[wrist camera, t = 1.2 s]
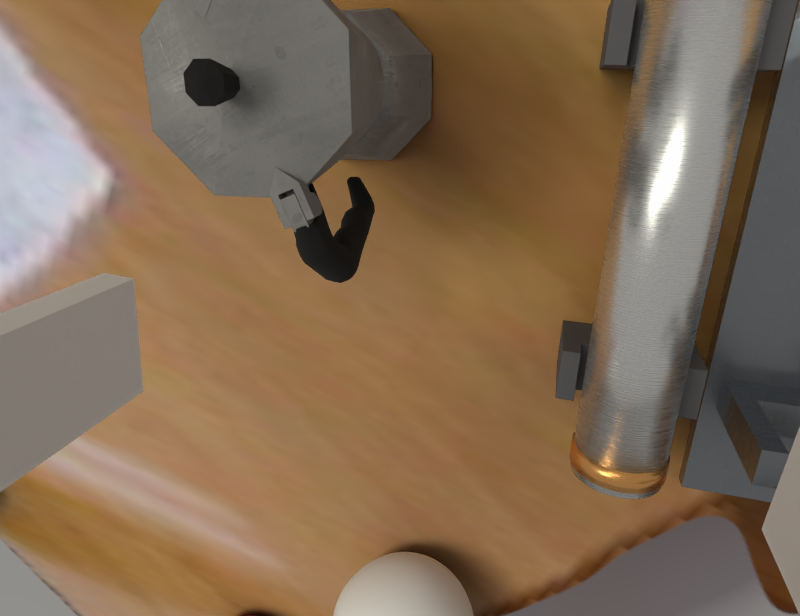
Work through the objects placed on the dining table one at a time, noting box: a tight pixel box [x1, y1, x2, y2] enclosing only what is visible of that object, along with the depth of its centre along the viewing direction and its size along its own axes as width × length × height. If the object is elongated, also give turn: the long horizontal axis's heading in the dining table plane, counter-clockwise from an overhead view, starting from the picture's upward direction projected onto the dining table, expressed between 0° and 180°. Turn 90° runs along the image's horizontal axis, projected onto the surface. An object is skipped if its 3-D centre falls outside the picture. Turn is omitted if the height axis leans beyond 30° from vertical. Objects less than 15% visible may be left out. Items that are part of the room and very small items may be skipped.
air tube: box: [570, 0, 773, 499], centre depth 29 cm, size 28×5×5 cm, turn 178°
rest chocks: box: [556, 0, 798, 420], centre depth 33 cm, size 21×8×5 cm, turn 178°
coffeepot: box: [140, 0, 432, 283], centre depth 29 cm, size 15×9×18 cm, turn 23°
